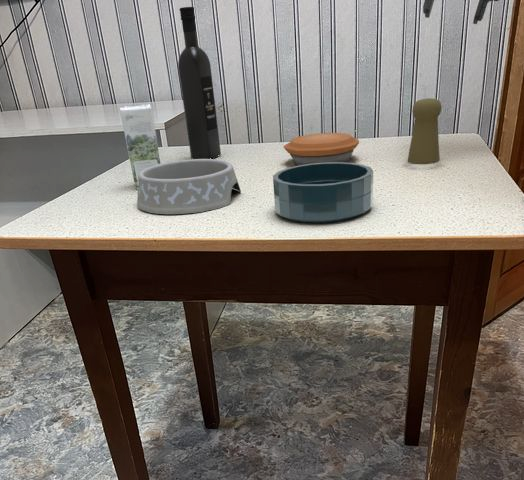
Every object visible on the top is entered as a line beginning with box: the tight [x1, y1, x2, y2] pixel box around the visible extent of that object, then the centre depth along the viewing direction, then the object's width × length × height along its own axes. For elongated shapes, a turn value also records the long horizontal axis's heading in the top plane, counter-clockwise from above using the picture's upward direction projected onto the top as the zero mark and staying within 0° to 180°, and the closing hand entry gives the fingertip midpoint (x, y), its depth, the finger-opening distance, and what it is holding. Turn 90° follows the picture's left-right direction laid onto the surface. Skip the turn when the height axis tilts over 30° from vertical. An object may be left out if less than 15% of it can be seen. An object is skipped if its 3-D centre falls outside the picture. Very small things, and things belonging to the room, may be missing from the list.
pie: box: [283, 132, 360, 166], centre depth 111 cm, size 15×16×5 cm
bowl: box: [272, 162, 374, 224], centre depth 80 cm, size 15×15×6 cm
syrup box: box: [119, 103, 162, 190], centre depth 102 cm, size 6×6×14 cm
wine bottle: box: [177, 6, 222, 159], centre depth 119 cm, size 6×6×30 cm
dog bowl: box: [136, 158, 242, 215], centre depth 92 cm, size 17×18×5 cm
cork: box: [407, 98, 442, 165], centre depth 102 cm, size 6×6×11 cm
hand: (451, 18), depth 96 cm, fingers open, 8 cm apart
